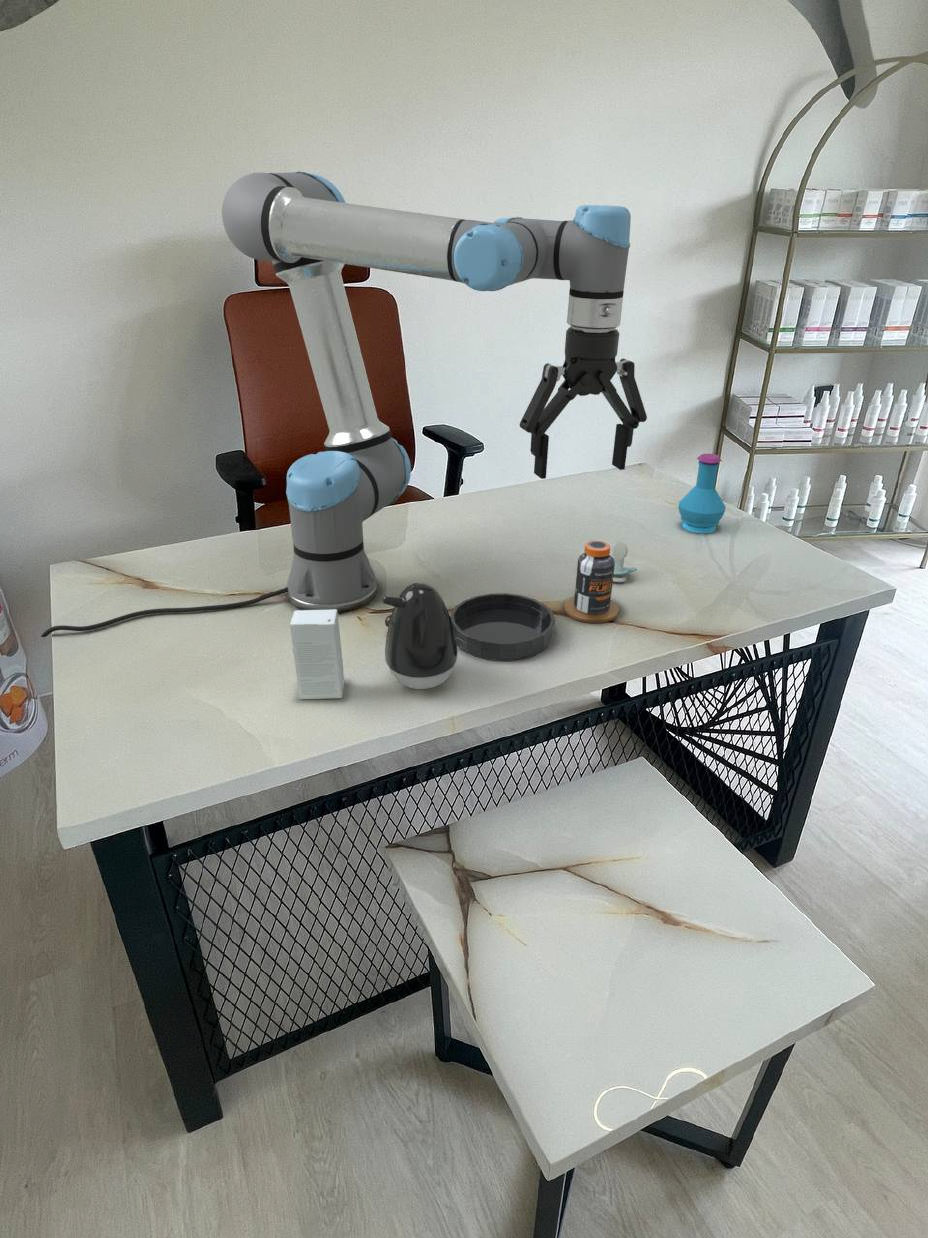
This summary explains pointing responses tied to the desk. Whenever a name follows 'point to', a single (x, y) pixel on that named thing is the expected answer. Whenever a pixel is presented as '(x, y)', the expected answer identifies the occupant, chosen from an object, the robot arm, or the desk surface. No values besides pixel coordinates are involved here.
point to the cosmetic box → (317, 653)
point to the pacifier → (620, 562)
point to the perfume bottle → (703, 499)
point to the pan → (503, 626)
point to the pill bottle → (594, 578)
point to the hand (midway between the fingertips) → (579, 471)
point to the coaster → (591, 618)
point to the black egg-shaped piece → (420, 638)
